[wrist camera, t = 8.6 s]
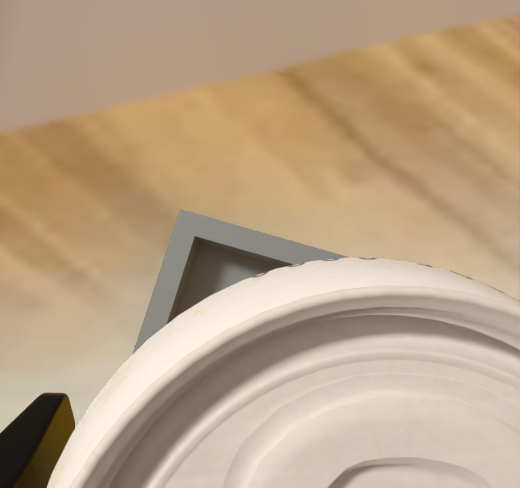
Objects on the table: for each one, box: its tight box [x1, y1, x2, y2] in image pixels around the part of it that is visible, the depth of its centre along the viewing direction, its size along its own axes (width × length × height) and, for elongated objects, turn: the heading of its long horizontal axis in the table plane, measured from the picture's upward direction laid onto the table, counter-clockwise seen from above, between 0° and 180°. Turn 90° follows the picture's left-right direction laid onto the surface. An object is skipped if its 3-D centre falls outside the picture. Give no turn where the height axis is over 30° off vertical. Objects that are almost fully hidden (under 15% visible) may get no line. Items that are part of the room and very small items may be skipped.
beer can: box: [47, 258, 520, 488], centre depth 10 cm, size 6×6×15 cm
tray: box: [133, 209, 349, 354], centre depth 17 cm, size 11×11×2 cm
